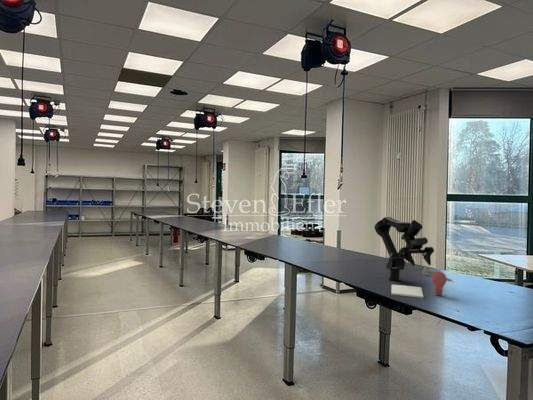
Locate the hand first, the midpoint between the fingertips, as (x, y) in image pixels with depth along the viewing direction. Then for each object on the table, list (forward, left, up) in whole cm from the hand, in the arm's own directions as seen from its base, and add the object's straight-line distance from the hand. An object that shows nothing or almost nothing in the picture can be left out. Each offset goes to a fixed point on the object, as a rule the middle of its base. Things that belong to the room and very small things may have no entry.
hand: (422, 265), depth 205 cm
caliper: (-38, +12, -14) cm, 43 cm away
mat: (+4, -7, -14) cm, 16 cm away
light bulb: (+5, +8, -14) cm, 17 cm away
